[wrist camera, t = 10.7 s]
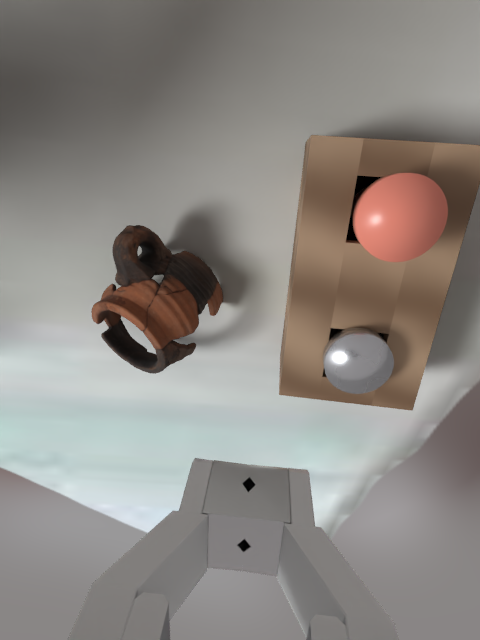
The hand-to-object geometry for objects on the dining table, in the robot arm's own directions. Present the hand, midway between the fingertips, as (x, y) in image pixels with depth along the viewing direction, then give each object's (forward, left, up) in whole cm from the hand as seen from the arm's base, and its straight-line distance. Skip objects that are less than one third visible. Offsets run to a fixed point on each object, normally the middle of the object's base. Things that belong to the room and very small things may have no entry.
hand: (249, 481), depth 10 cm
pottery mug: (-3, -9, -23) cm, 25 cm away
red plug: (-1, +9, -20) cm, 22 cm away
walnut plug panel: (+3, +6, -23) cm, 24 cm away
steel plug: (+7, +3, -22) cm, 23 cm away
